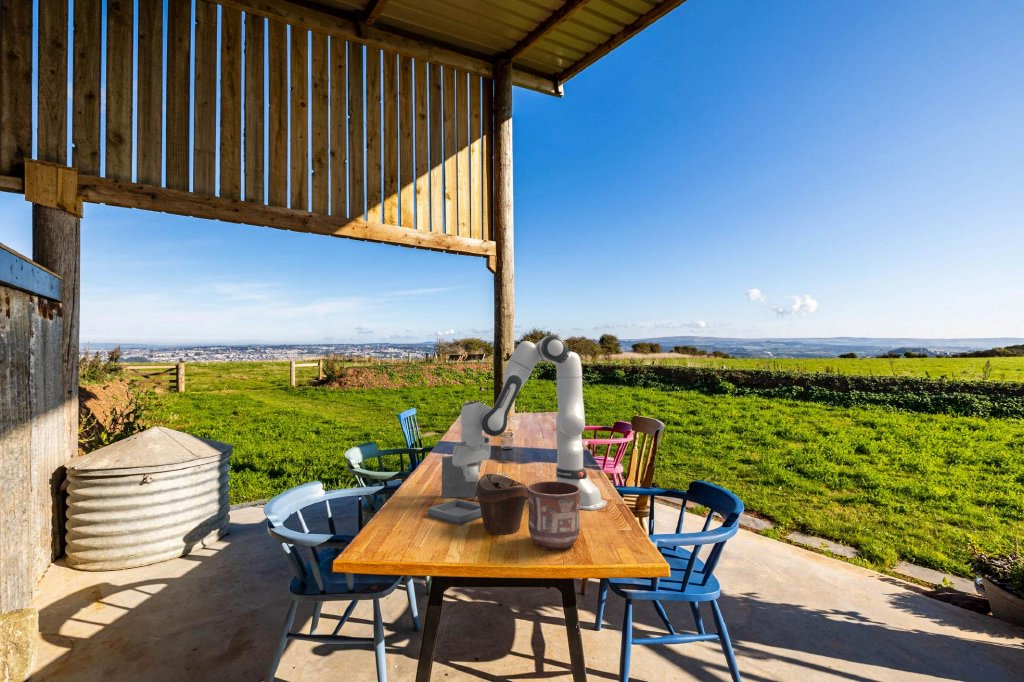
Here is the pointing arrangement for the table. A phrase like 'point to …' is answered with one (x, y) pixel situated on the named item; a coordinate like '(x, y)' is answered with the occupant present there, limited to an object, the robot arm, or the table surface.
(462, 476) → the hip flask
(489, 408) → the robot arm
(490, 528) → the brown lidded tumbler
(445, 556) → the table surface
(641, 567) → the table surface
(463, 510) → the tray
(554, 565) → the table surface
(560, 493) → the pottery
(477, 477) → the cup
